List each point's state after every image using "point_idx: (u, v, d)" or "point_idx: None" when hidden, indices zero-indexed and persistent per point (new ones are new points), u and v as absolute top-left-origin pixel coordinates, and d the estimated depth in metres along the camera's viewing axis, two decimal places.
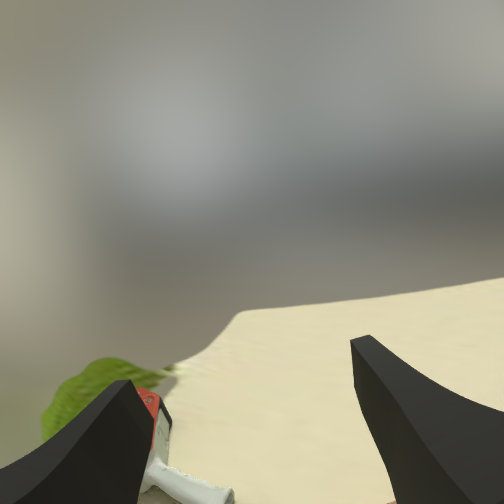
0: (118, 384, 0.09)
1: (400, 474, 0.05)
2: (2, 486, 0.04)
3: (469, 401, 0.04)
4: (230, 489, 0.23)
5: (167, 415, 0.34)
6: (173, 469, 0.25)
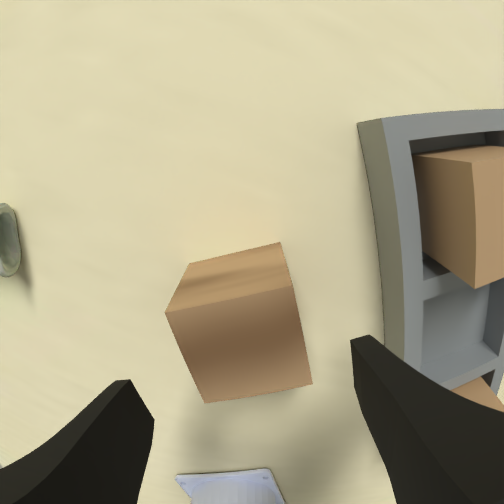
0: (118, 384, 0.09)
1: (400, 474, 0.05)
2: (2, 486, 0.04)
3: (469, 401, 0.04)
4: None
5: None
6: None
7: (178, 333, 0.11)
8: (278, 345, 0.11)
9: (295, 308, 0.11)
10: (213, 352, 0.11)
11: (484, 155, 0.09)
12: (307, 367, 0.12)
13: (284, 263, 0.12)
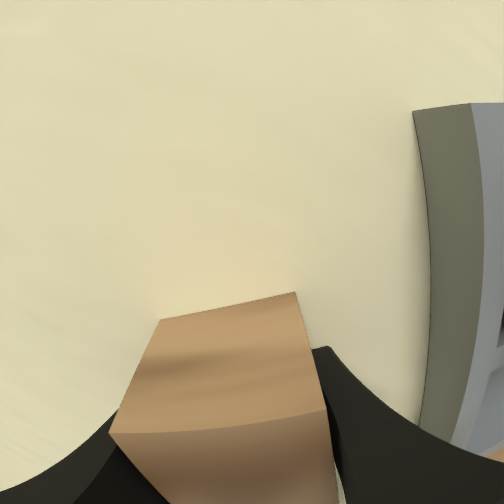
0: None
1: (346, 490, 0.05)
2: (37, 499, 0.04)
3: (411, 426, 0.05)
4: None
5: None
6: None
7: (134, 457, 0.06)
8: (293, 476, 0.06)
9: (326, 436, 0.05)
10: (192, 481, 0.06)
11: None
12: (334, 491, 0.06)
13: (306, 345, 0.07)
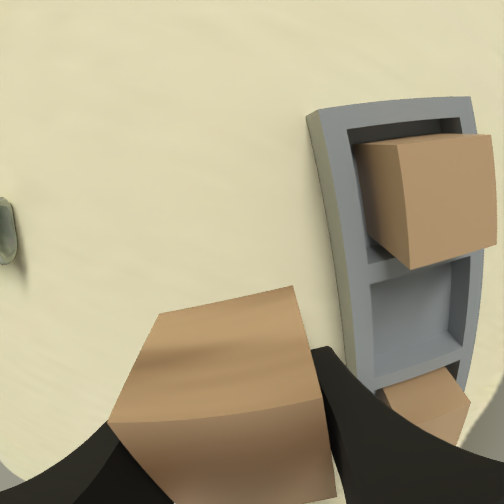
0: None
1: (346, 490, 0.05)
2: (37, 498, 0.04)
3: (411, 426, 0.05)
4: None
5: None
6: None
7: (133, 448, 0.06)
8: (291, 467, 0.06)
9: (323, 426, 0.06)
10: (190, 472, 0.06)
11: (420, 139, 0.10)
12: (332, 484, 0.06)
13: (303, 336, 0.07)
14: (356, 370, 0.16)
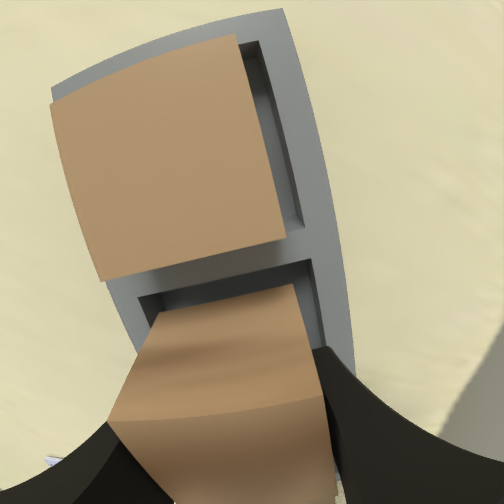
0: None
1: (346, 490, 0.05)
2: (37, 498, 0.04)
3: (411, 426, 0.05)
4: None
5: None
6: None
7: (133, 447, 0.06)
8: (292, 466, 0.06)
9: (324, 423, 0.06)
10: (191, 471, 0.06)
11: None
12: (333, 482, 0.06)
13: (303, 334, 0.07)
14: None
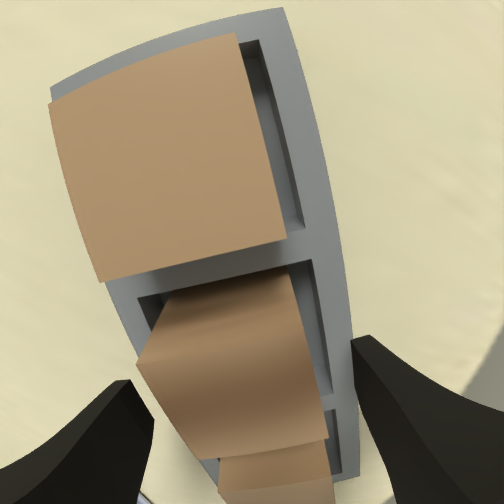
0: (117, 384, 0.09)
1: (400, 474, 0.05)
2: (2, 486, 0.04)
3: (469, 401, 0.04)
4: None
5: None
6: None
7: (155, 388, 0.08)
8: (286, 401, 0.08)
9: (307, 357, 0.08)
10: (202, 409, 0.08)
11: None
12: (323, 421, 0.09)
13: (291, 292, 0.09)
14: None
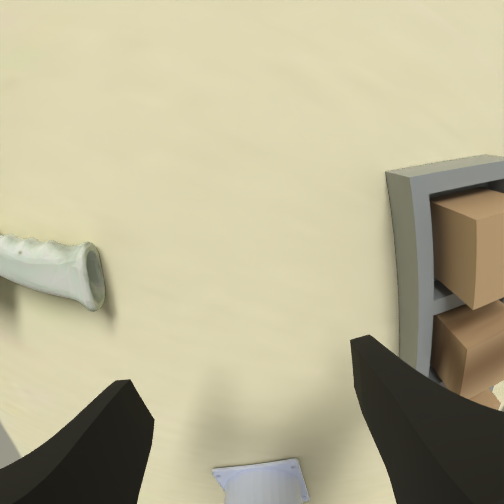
0: (117, 384, 0.09)
1: (400, 474, 0.05)
2: (2, 486, 0.04)
3: (469, 401, 0.04)
4: (84, 254, 0.16)
5: None
6: (1, 248, 0.15)
7: (468, 360, 0.14)
8: None
9: None
10: (479, 367, 0.14)
11: (486, 208, 0.12)
12: None
13: (503, 304, 0.15)
14: None
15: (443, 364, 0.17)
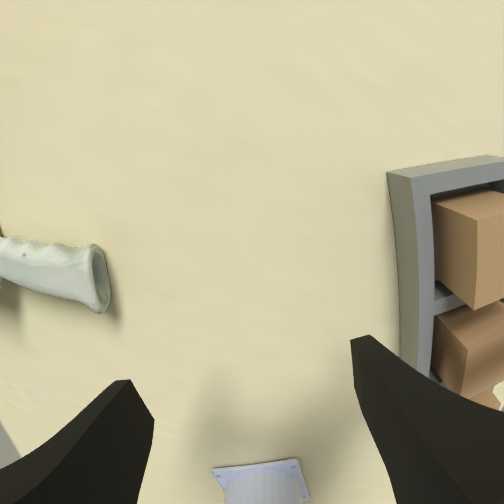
0: (118, 384, 0.09)
1: (400, 474, 0.05)
2: (2, 485, 0.04)
3: (469, 401, 0.04)
4: (89, 256, 0.16)
5: None
6: (5, 250, 0.15)
7: (468, 361, 0.14)
8: None
9: None
10: (480, 368, 0.14)
11: (487, 208, 0.12)
12: None
13: (503, 305, 0.15)
14: None
15: (443, 364, 0.17)
